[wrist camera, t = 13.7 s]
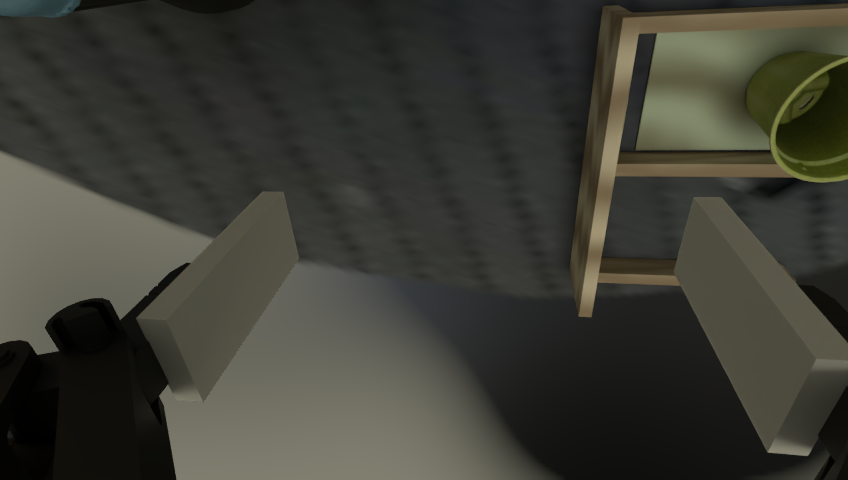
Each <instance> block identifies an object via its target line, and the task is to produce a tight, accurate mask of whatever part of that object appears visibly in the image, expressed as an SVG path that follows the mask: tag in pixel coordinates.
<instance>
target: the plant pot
mask: <svg viewBox="0 0 848 480" xmlns="http://www.w3.org/2000/svg"><path fill="white" fill-rule="evenodd" d="M812 95H813V99H812V100H811V101H810V102H809V103H808V104H807V105H806V106H805V107H804V108H801V109H799V107H800V106H801V105H802V104H803V103H805V102H806V101H807V100H808V99H809V98H810V97H811V96H812ZM746 107H747V110H748V112H749V113H750V115H751V116H752V117H753V119H754V120H755V121H756V122H757V123H758V125H759V126H760V127H761V128H762V130H763V131H764V132H765V133H766V135H767V136H768V137H769V145H770V151H771V154H772V156H773V158H774V160H775V161H776V163H777V164H778V165H779V166H780V168H782V169H783V170H784V171H785V172H786V173H788V174H790V175H791V176H793V177H796V178H798V179H801V180H805V181H812V182H833V181H841V180H845V179H848V56H844V55H834V54H825V53H817V52H808V51H796V52H791V53H787V54H784V55H780V56H778V57H776V58H774V59H772V60H771V61H769V62H768V63H766V64H765V65H764V66H763V67H762V68H760V69H759V71H758V72H757V73H756V74H755V75H754V77H753V78H752V80H751V81H750V83H749V85H748V88H747V97H746Z"/></svg>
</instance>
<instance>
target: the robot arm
mask: <svg viewBox="0 0 848 480" xmlns="http://www.w3.org/2000/svg"><path fill="white" fill-rule="evenodd" d="M139 1H146V0H0V15H4V16H12V17H19V16H44V17H61V16H67V13H72V12H74V11H80V10H87V9H94V8H100V7H107V6H113V5H120V4H126V3H133V2H139ZM160 1H163V2H165V3H168V4H170V5H173V6H176V7H178V8H181V9H184V10H187V11H191V12H196V13H206V14H214V13H221V12H226V11H231V10H235V9H238V8H241V7H244V6H246V5H248V4H249V3H251V2H252V1H254V0H160ZM298 259H299V257H298V252H297V248H296V244H295V239H294V235H293V231H292V227H291V222H290V218H289V214H288V210H287V205H286V201H285V197H284V192H262V193H261V194H260V195H259V196H258V197H257V198H256V199H255V200H254V201H253V202H252V203H251V204H250V205H249V206H248V207H247V208H246V209H245V210H244V211H243V212H242V213H241V214H240V215H239V216H238V217H237V218H236V219H235V220H234V221H233V222H232V223H231V224H230V225H229V226H228V227H227V228H226V229H225V230H224V231H223V232H222V233H221V234H220V235H219V236H218V237H217V238H216V239H215V240H214V241H213V242H212V243H211V244H210V245H209V246H208V247H207V248H206V249H205V250H204V251H203V252H202V253H201V254H200V255H199V256H198V257H197V258H196V259H195V260H194V261H193V262H192V263H185V264H184V265H182V266H180V267H179V268H177V269H175V270H173V271H172V272H170V273H169V274H168V275H167V276H166V277H165V278H164V279H163V280H162V281H161V282H160V283H159V284H158V286H156V287H154V288H153V289H152V290H151V291H150V292H149V295H148V296H145V297H144V298H143V299H142V300H141V301H140V302H139V303H138V304H137V305H136V306H135V307H134V308H133V309H132V310H131V311H130V312H128V313H127V315H125V316H124V317H123V318H122V319H121V320H119V317H118V315H117V314H116V312H115V310H114V308H113V306H112V304H111V302H110V301H109V300H106V299H103V298H94V299H88V300H84V301H80V302H77V303H75V304H72V305H70V306H67V307H66V308H64V309H62V310H61V311H59V312H57V313H56V314H55V315H54V316H53V317H52V318H51V319H50V320H49V321H48V322H47V324H46V326H45V329H46V330H47V332H48V334H49V335H50V337H51V338H52V340H53V342H54V343H55V345H56V346H57V348H58V349H59V351H58V352H52V353H46V354H41V355H37V354H36V353H35V351H34V350H33V348H32V347H31V345H30V344H29V343H28V342H26V341H21V340H18V341H9V342H6V343H2V344H0V480H176V474H175V469H174V463H173V457H172V451H171V446H170V440H169V434H168V428H167V423H166V417H165V411H164V405H163V403H162V401H161V400H160V397H159V395H160V394H161V393H162V391H163V390H164V389H165V388H166V386H167V385H169V387H170V389H171V391H172V393H173V395H174V397H175V399H176V400H182V401H192V402H193V401H194V402H204V400H205V399H206V397H207V396H208V394H209V393H210V391H211V390H212V388H213V387H214V385H215V384H216V382H217V381H218V379H219V378H220V376H221V375H222V373H223V372H224V370H225V369H226V367H227V366H228V364H229V363H230V361H231V360H232V358H233V357H234V355H235V354H236V352H237V351H238V349H239V348H240V346H241V345H242V343H243V342H244V340H245V339H246V337H247V336H248V334H249V333H250V331H251V330H252V328H253V327H254V325H255V324H256V322H257V321H258V319H259V317H260V316H261V315H262V313H263V312H264V310H265V309H266V307H267V306H268V304H269V303H270V301H271V300H272V298H273V297H274V295H275V294H276V292H277V291H278V289H279V288H280V286H281V285H282V283H283V282H284V280H285V279H286V277H287V276H288V274H289V273H290V271H291V270H292V268H293V267H294V265H295V264H296V262H297V261H298ZM674 274H675V276H676V277H677V279H678V281H679V283H680V285H681V287H682V289H683V291H684V293H685V295H686V296H687V298H688V300H689V302H690V304H691V306H692V308H693V310H694V312H695V314H696V316H697V318H698V320H699V322H700V323H701V325H702V327H703V329H704V331H705V333H706V335H707V337H708V339H709V341H710V343H711V345H712V347H713V348H714V350H715V352H716V354H717V356H718V358H719V360H720V362H721V364H722V366H723V368H724V369H725V371H726V373H727V375H728V377H729V379H730V381H731V383H732V385H733V387H734V389H735V391H736V393H737V394H738V396H739V398H740V400H741V402H742V404H743V406H744V408H745V410H746V412H747V414H748V415H749V417H750V419H751V421H752V423H753V425H754V427H755V429H756V431H757V433H758V435H759V437H760V439H761V440H762V442H763V444H764V446H765V448H766V450H767V452H770V453H782V454H792V455H804V456H808V455H809V453H810V451H811V449H812V448H813V446H814V444H815V443H816V441H817V439H818V438H820V439H821V441H822V442H823V444H824V445H825V447H826V449H827V450H828V452H829V453H830V456H829V457H828V459H827V461H826V462H825V464H824V465H823V467H822V469H821V470H820V472H819V473H818V475H817V476H816V478H815V479H814V480H848V312H847V311H846V310H845V309H844V308H843V307H842V306H841V305H840V304H839V303H838V302H837V301H836V300H835V299H834V298H832V297H830V296H829V295H827V294H826V293H824V292H822V291H821V290H819V289H818V288H816V287H815V286H808V285H797V284H796V283H795V282H794V281H793V279H792V278H791V277H790V276H789V275H788V274H787V273H786V271H785V270H784V269H783V268H782V267H781V266H780V264H779V263H778V262H777V261H776V260H775V259H774V258H773V256H772V255H771V254H770V253H769V252H768V251H767V250H766V248H765V247H764V246H763V245H762V244H761V243H760V241H759V240H758V239H757V238H756V237H755V236H754V235H753V233H752V232H751V231H750V230H749V229H748V228H747V227H746V225H745V224H744V223H743V222H742V221H741V220H740V218H739V217H738V216H737V215H736V214H735V213H734V212H733V210H732V209H731V208H730V207H729V206H728V205H727V204H726V202H725V201H724V200H723V199H722V198H721V197H694V198H693V201H692V205H691V209H690V213H689V216H688V220H687V224H686V228H685V231H684V235H683V239H682V242H681V246H680V250H679V254H678V257H677V261H676V265H675V269H674Z"/></svg>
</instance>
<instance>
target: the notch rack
mask: <svg viewBox="0 0 848 480" xmlns="http://www.w3.org/2000/svg"><path fill="white" fill-rule="evenodd" d="M643 33H656V37H655V42H654V47H653V53H652V58H651V64H650V69H649V74H648V80H647V85H646V91H645V96H644V102H643V107H642V112H641V118H640V123H639V129H638V134H637V139H636V145H635V150H770V145H769V137H768V136H767V135H766V133H765V132H764V131H763V130H762V128H761V127H760V126H759V125H758V123H757V122H756V121H755V120H754V119H753V117H752V116H751V115H750V113H749V112H748V110H747V107H746V97H747V88H748V85H749V83H750V81H751V80H752V78H753V77H754V75H755V74H756V73H757V72H758V71H759V69H760V68H762V67H763V66H764V65H765V64H766V63H768V62H769V61H771V60H772V59H774V58H776V57H778V56H780V55H784V54H787V53H791V52H796V51H808V52H817V53H825V54H834V55H844V56H848V3H839V4H816V5H794V6H771V7H748V8H726V9H703V10H680V11H657V12H635V13H632V12H630V11H628V10H626V9H624V8H622V7H620V6H618V5H614V6H603V9H602V16H601V24H600V32H599V40H598V48H597V56H596V64H595V72H594V80H593V87H592V95H591V103H590V111H589V119H588V127H587V135H586V143H585V150H584V158H583V166H582V174H581V182H580V190H579V198H578V206H577V214H576V221H575V229H574V237H573V245H572V253H571V261H570V269H569V271H570V276H571V281H572V286H573V291H574V296H575V301H576V305H577V310H578V315H579V316H580V317H591V316H592V310H593V304H594V298H595V292H596V286H597V282H602V283H627V284H652V285H677V286H681V285H680V283H679V281H678V279H677V277H676V276H675V274H674V269H675V265H676V261H677V260H664V259H632V258H601V257H602V251H603V245H604V239H605V233H606V227H607V221H608V215H609V209H610V203H611V197H612V191H613V185H614V179H615V176H677V177H793V176H791V175H790V174H788V173H786V172H785V171H784V170H783V169H782V168H780V166H779V165H778V164H777V163H776V161H775V160H774V158H773V156H772V154H771V152H619V149H620V143H621V137H622V133H623V127H624V121H625V115H626V109H627V103H628V95H629V89H630V83H631V77H632V71H633V65H634V59H635V53H636V47H637V41H638V35H639V34H643ZM812 99H813V95H812V96H811V97H810V98H809V99H808V100H807V101H806V102H805V103H803V104H802V105H801V106H800V107H799V109H801V108H804V107H805V106H806V105H807V104H808V103H809V102H810V101H811V100H812ZM779 264H780V266H781V267H782V268H783V269H784V270H785V271H786V273H787V274H788V275H789V276H790V277H791V278H792V279H793V281H794V282H796V280H795V278H794V277H793V276H792V275H791V274H790V273H789V272H788V271H787V269H786V268H785V267H784V266H783V265H782V264H781V263H779Z"/></svg>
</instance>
